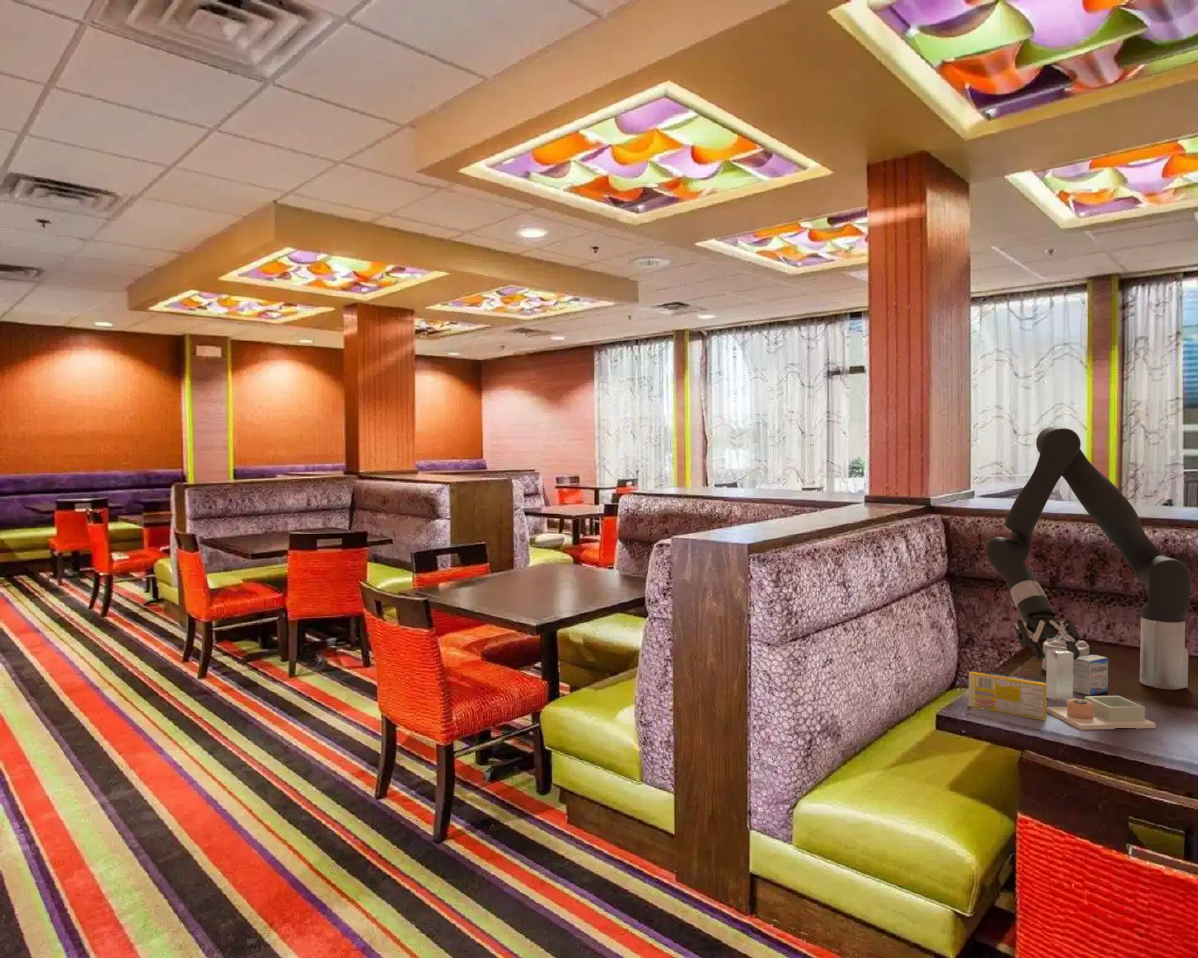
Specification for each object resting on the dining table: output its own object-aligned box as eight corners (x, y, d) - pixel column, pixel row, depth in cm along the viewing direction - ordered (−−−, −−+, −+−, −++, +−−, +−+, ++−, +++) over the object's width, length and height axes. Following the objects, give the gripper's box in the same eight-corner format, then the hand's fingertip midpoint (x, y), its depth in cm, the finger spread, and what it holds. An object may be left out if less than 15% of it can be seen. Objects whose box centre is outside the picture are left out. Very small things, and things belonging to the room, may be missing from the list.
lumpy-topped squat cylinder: (1038, 670, 215) (1039, 639, 215) (1051, 660, 225) (1052, 631, 224) (1081, 677, 208) (1082, 645, 208) (1093, 667, 218) (1094, 637, 217)
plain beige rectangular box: (1061, 697, 191) (1062, 648, 191) (1072, 702, 187) (1073, 653, 187) (1046, 697, 191) (1046, 649, 191) (1056, 702, 187) (1057, 653, 187)
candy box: (1046, 719, 176) (1047, 683, 176) (1044, 721, 174) (1045, 685, 174) (970, 704, 186) (970, 670, 186) (967, 706, 185) (968, 672, 185)
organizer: (1116, 709, 182) (1116, 692, 182) (1155, 727, 170) (1155, 709, 170) (1045, 711, 181) (1046, 693, 181) (1080, 729, 169) (1080, 711, 169)
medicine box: (1089, 696, 192) (1090, 661, 192) (1071, 691, 196) (1072, 657, 196) (1108, 691, 196) (1108, 657, 196) (1090, 686, 200) (1090, 653, 199)
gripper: (1010, 594, 197) (1037, 650, 186) (1065, 593, 198) (1095, 649, 187) (998, 610, 203) (1024, 666, 192) (1051, 610, 203) (1080, 665, 192)
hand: (1059, 658), depth 189 cm, fingers open, 8 cm apart
